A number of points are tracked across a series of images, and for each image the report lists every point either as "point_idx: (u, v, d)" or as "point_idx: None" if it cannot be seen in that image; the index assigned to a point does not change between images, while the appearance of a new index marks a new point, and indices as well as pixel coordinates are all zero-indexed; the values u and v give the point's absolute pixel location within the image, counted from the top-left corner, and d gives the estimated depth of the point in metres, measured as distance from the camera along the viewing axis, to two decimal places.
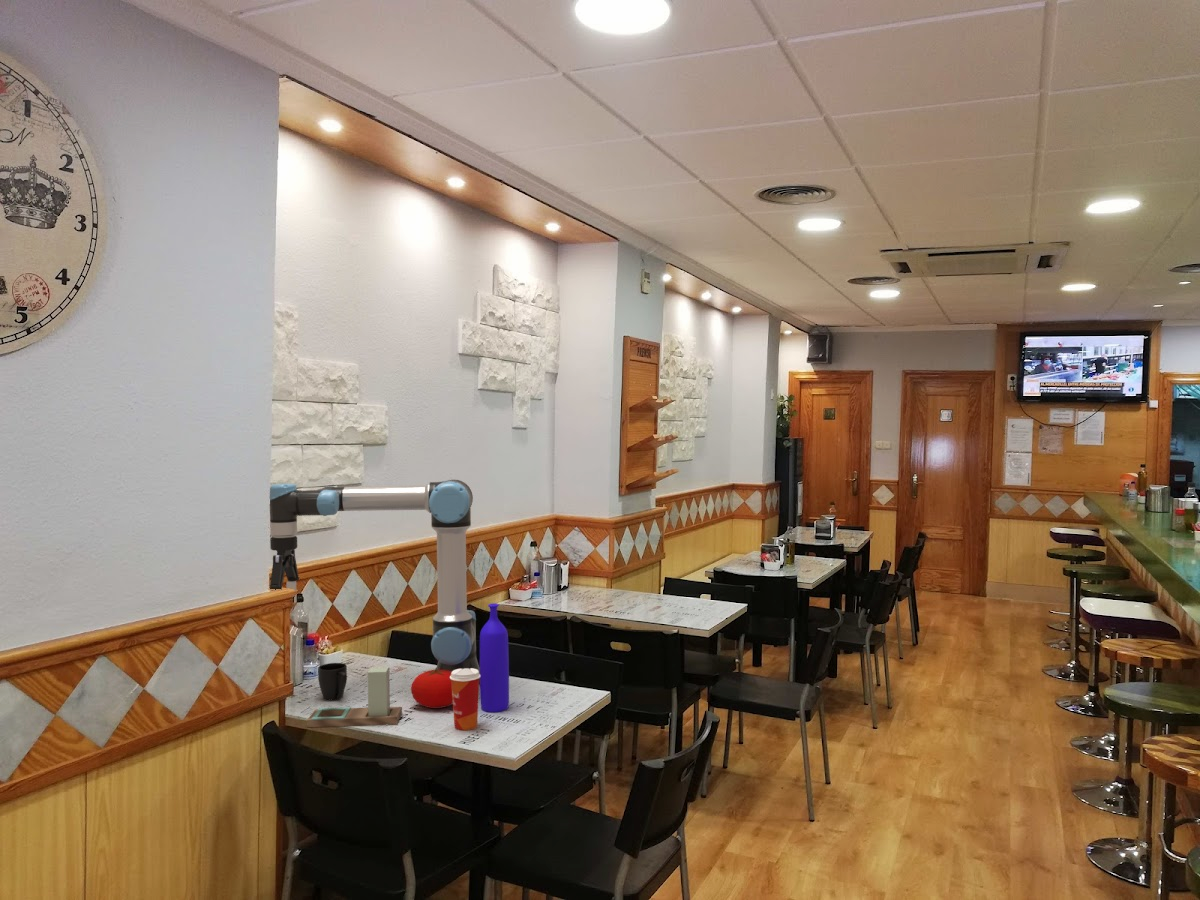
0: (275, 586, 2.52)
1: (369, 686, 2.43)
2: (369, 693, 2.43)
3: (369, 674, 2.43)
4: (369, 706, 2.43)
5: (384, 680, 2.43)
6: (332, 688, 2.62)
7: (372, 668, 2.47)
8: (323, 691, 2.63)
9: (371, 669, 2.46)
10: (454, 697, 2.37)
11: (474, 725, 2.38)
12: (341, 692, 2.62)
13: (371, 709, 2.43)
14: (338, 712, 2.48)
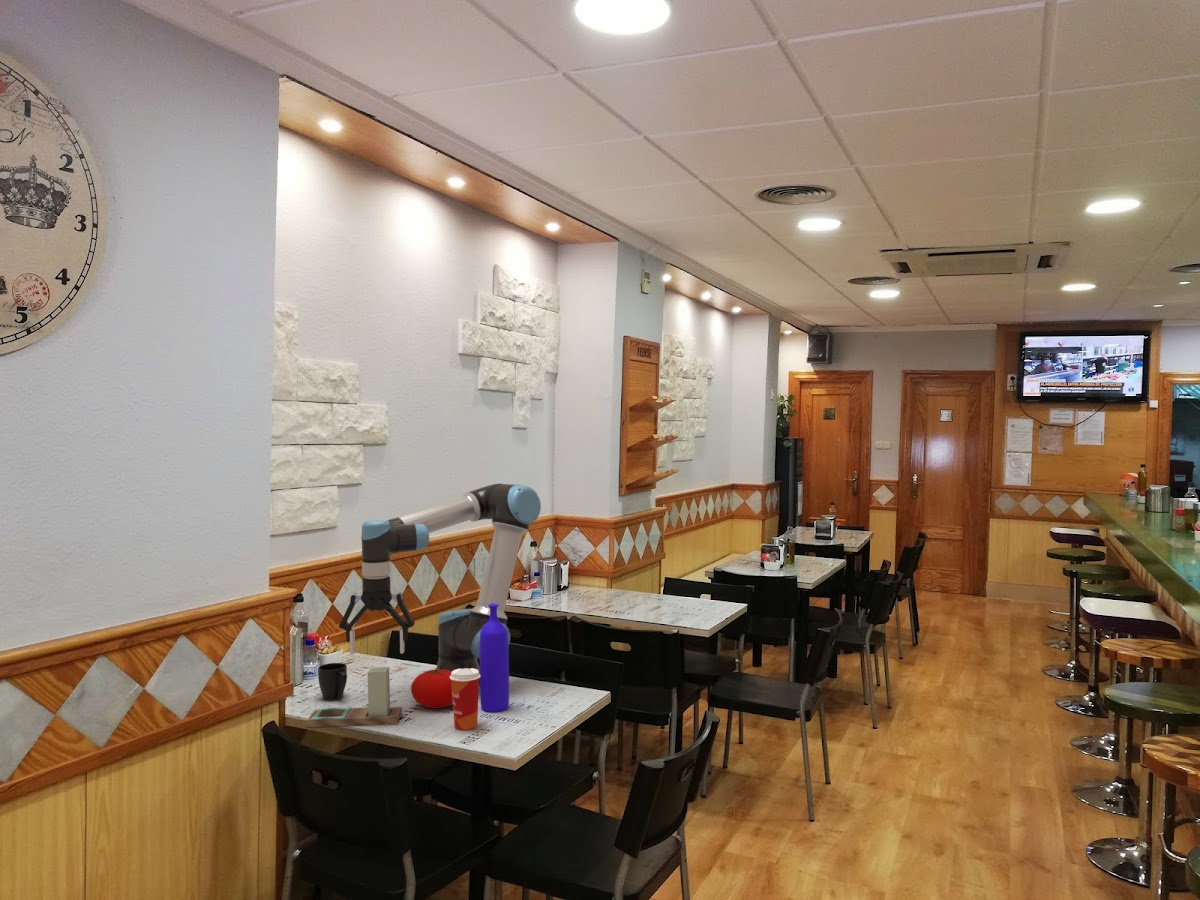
0: (340, 624, 2.44)
1: (369, 686, 2.43)
2: (369, 693, 2.43)
3: (369, 674, 2.43)
4: (369, 706, 2.43)
5: (384, 680, 2.43)
6: (332, 688, 2.62)
7: (372, 668, 2.47)
8: (323, 691, 2.63)
9: (371, 669, 2.46)
10: (454, 697, 2.37)
11: (474, 725, 2.38)
12: (341, 692, 2.62)
13: (371, 709, 2.43)
14: (338, 712, 2.48)
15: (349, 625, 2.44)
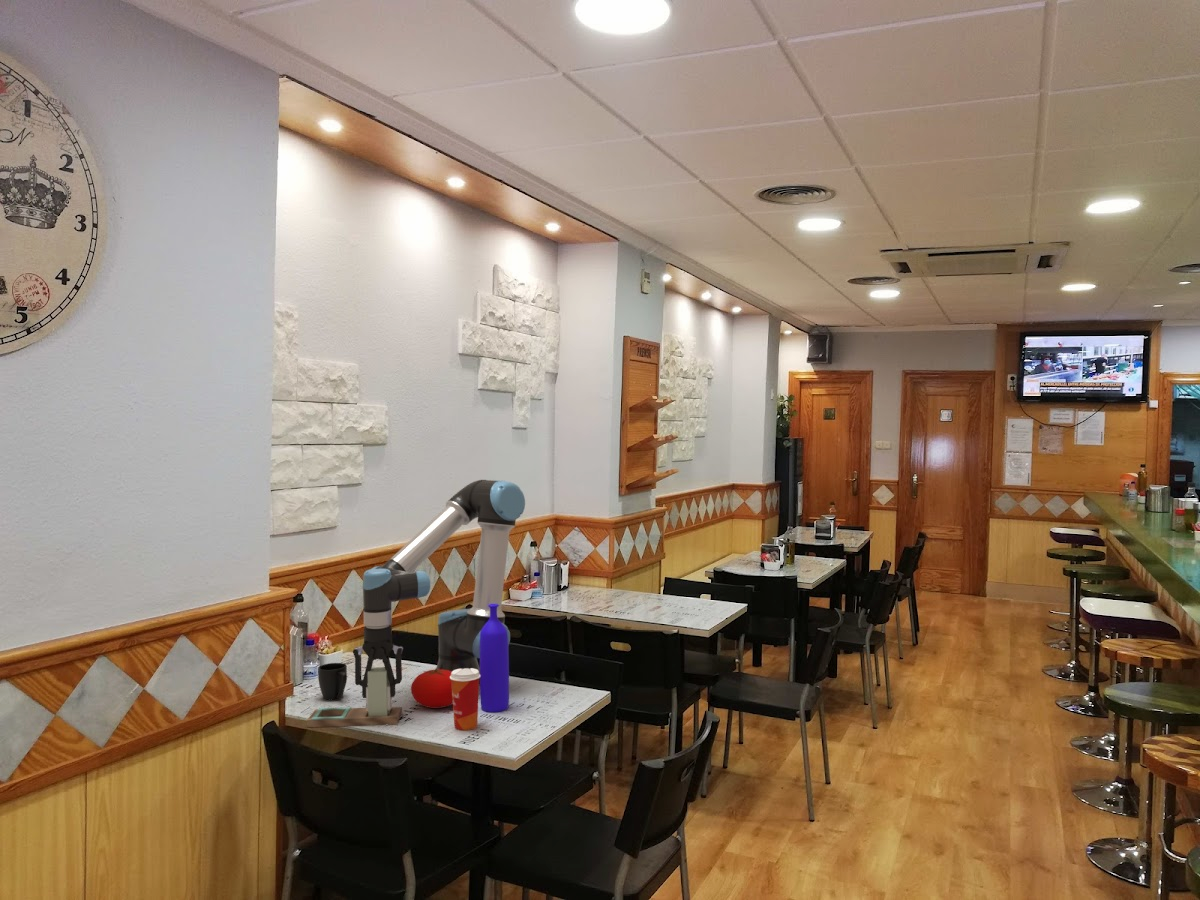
0: None
1: (369, 686, 2.43)
2: (369, 693, 2.43)
3: (369, 674, 2.43)
4: (369, 706, 2.43)
5: (384, 680, 2.43)
6: (332, 688, 2.62)
7: (372, 668, 2.47)
8: (323, 691, 2.63)
9: (371, 669, 2.46)
10: (454, 697, 2.37)
11: (474, 725, 2.38)
12: (341, 692, 2.62)
13: (371, 709, 2.43)
14: (338, 712, 2.48)
15: (364, 681, 2.44)
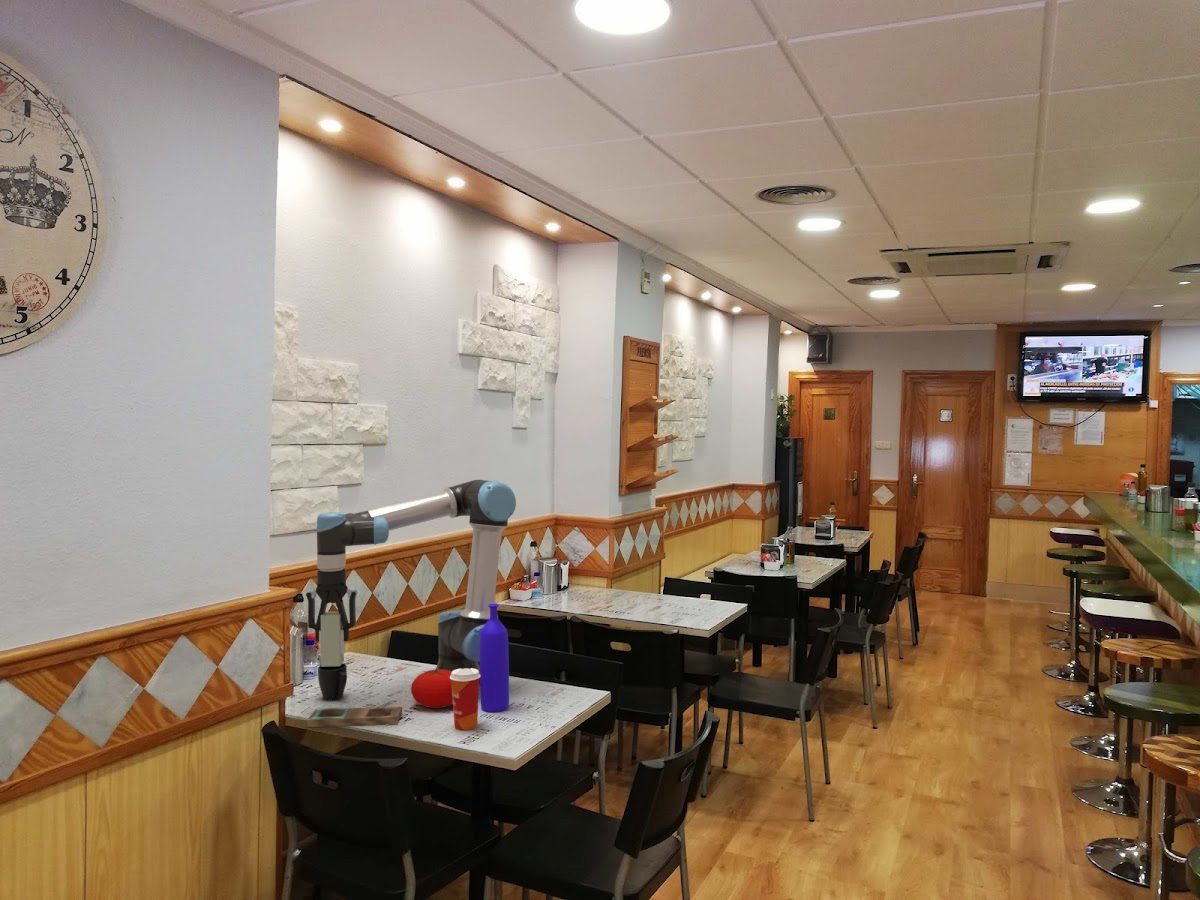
0: None
1: (322, 629, 2.41)
2: (322, 636, 2.41)
3: (322, 617, 2.41)
4: (322, 649, 2.42)
5: (337, 623, 2.42)
6: (332, 688, 2.62)
7: (326, 612, 2.45)
8: (323, 691, 2.63)
9: (325, 613, 2.44)
10: (454, 697, 2.37)
11: (474, 725, 2.38)
12: (341, 692, 2.62)
13: (324, 652, 2.42)
14: (338, 712, 2.48)
15: (317, 624, 2.43)
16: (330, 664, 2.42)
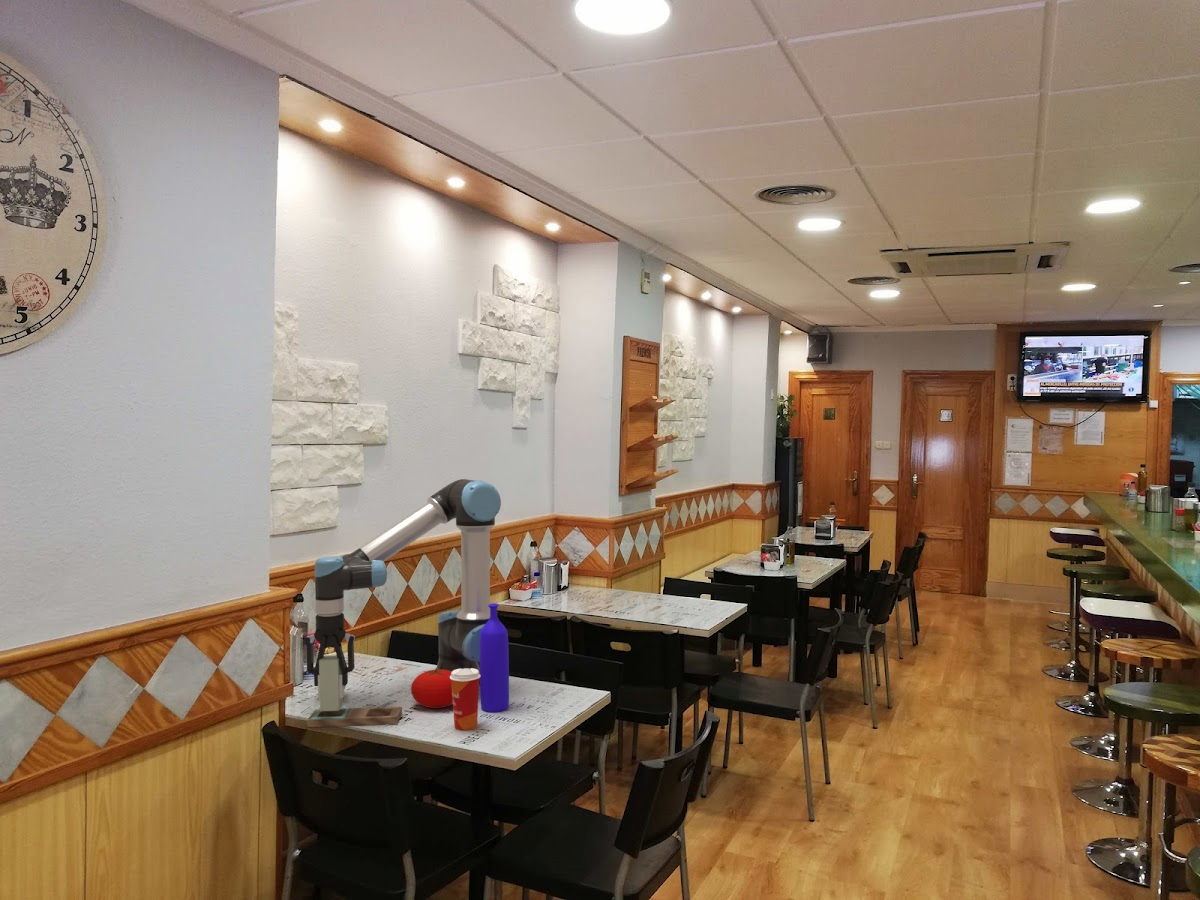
0: None
1: (321, 674, 2.42)
2: (321, 681, 2.42)
3: (321, 662, 2.42)
4: (321, 694, 2.42)
5: (336, 668, 2.42)
6: None
7: (324, 656, 2.46)
8: None
9: (323, 657, 2.45)
10: (454, 697, 2.37)
11: (474, 725, 2.38)
12: None
13: (322, 697, 2.42)
14: (338, 712, 2.48)
15: (315, 669, 2.43)
16: (329, 709, 2.42)
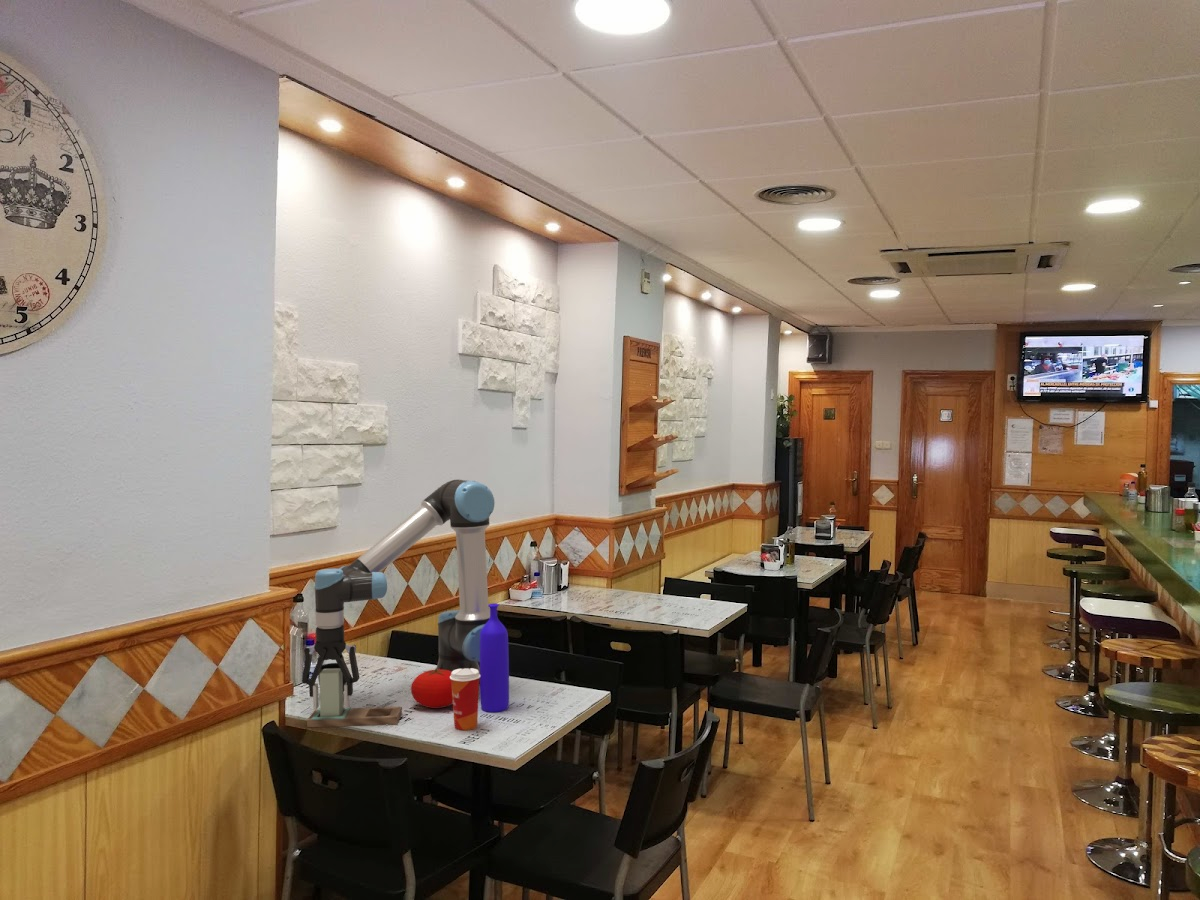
0: None
1: (321, 687, 2.42)
2: (321, 694, 2.42)
3: (321, 675, 2.42)
4: (321, 707, 2.42)
5: (336, 681, 2.42)
6: None
7: (325, 669, 2.46)
8: None
9: (324, 670, 2.45)
10: (454, 697, 2.37)
11: (474, 725, 2.38)
12: None
13: (323, 710, 2.42)
14: None
15: (311, 680, 2.43)
16: None
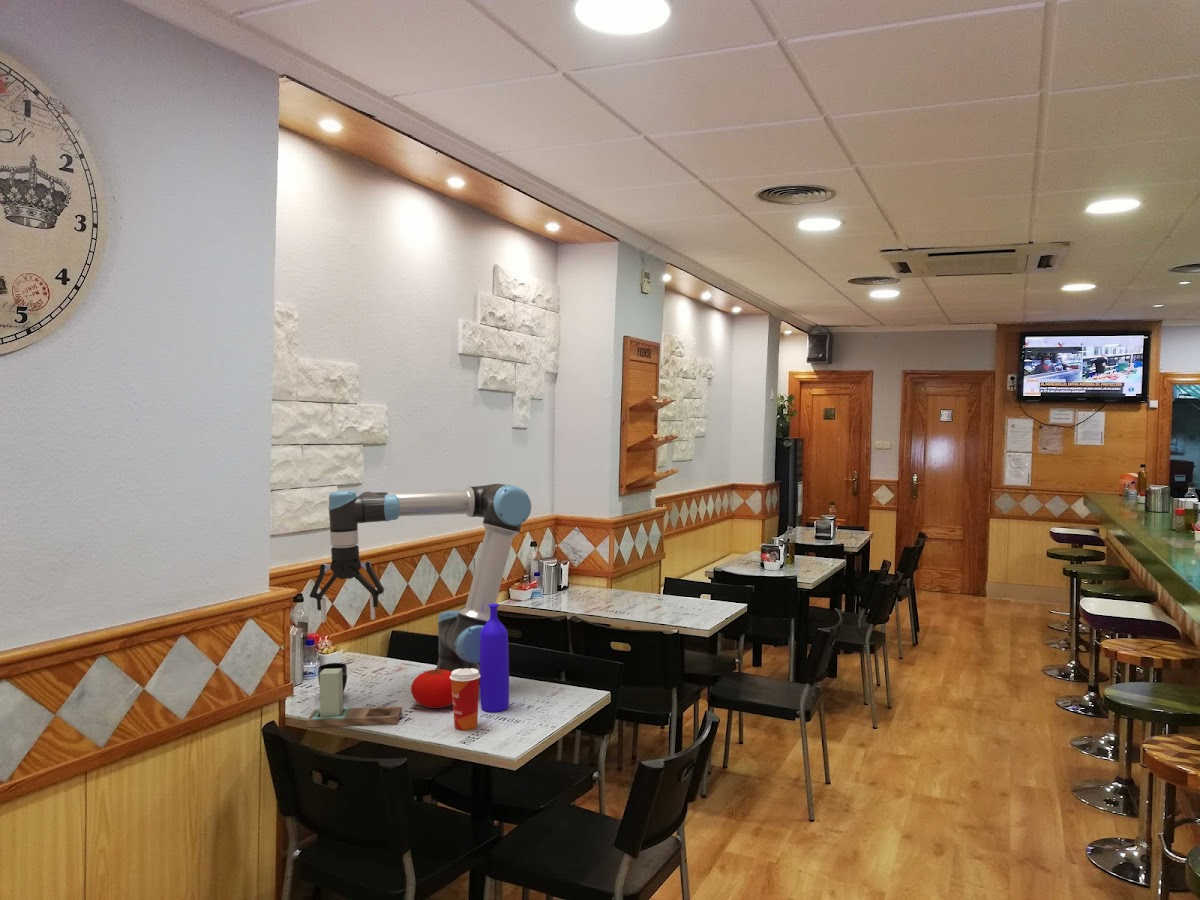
0: None
1: (321, 687, 2.42)
2: (321, 694, 2.42)
3: (321, 675, 2.42)
4: (321, 707, 2.42)
5: (336, 681, 2.42)
6: None
7: (325, 669, 2.46)
8: None
9: (324, 670, 2.45)
10: (454, 697, 2.37)
11: (474, 725, 2.38)
12: None
13: (323, 710, 2.42)
14: None
15: (320, 594, 2.49)
16: None
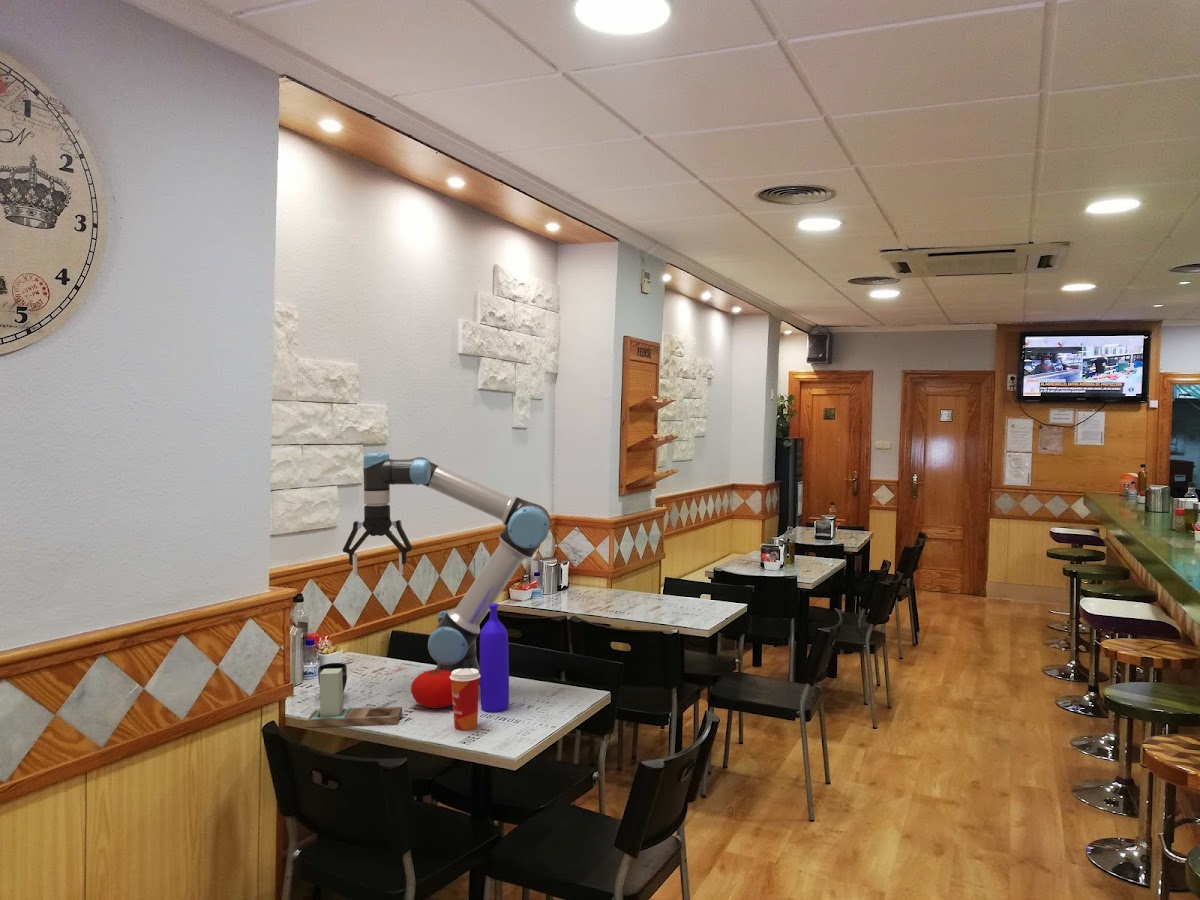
0: None
1: (321, 687, 2.42)
2: (321, 694, 2.42)
3: (321, 675, 2.42)
4: (321, 707, 2.42)
5: (336, 681, 2.42)
6: None
7: (325, 669, 2.46)
8: None
9: (324, 670, 2.45)
10: (454, 697, 2.37)
11: (474, 725, 2.38)
12: None
13: (323, 710, 2.42)
14: None
15: (352, 549, 2.64)
16: None
